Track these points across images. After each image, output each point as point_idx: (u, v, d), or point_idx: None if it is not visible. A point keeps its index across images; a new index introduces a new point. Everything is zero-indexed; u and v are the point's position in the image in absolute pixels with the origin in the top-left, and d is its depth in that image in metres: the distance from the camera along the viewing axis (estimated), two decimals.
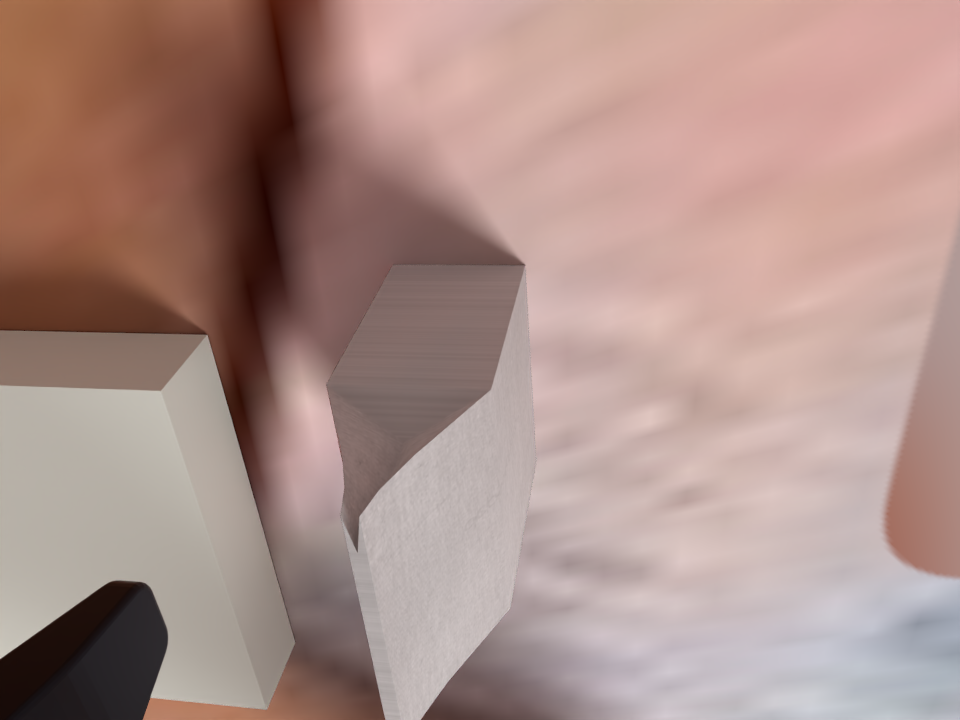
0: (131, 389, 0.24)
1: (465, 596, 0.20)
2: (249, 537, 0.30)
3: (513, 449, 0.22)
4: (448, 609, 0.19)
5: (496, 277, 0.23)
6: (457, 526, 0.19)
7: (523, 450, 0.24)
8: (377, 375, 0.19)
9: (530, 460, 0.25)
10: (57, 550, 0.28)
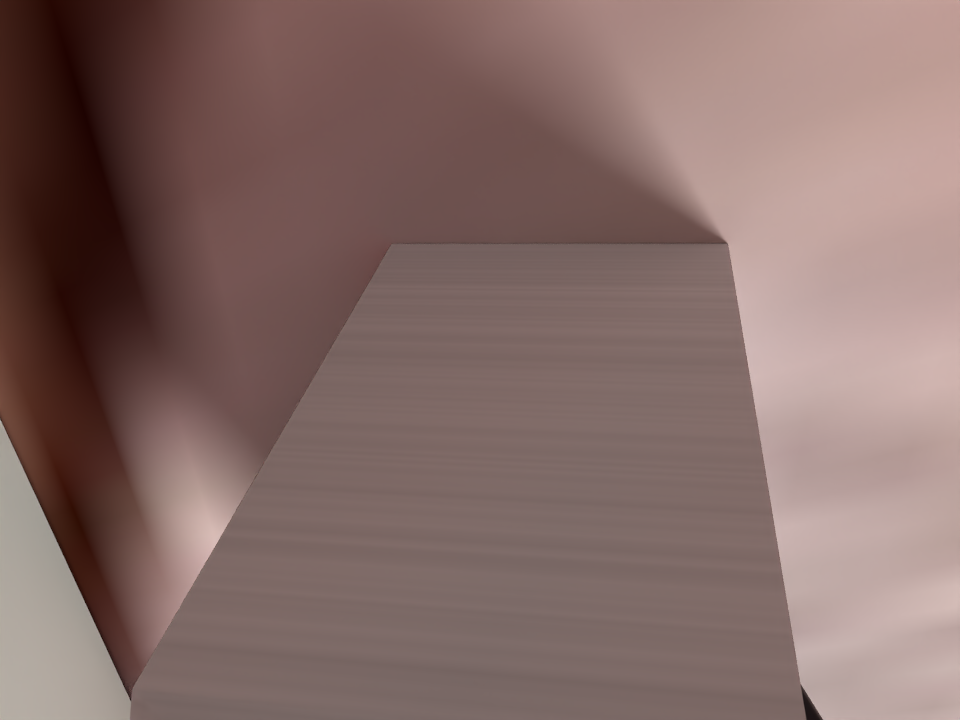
0: None
1: None
2: None
3: None
4: None
5: (663, 275, 0.09)
6: None
7: None
8: (333, 643, 0.05)
9: None
10: None
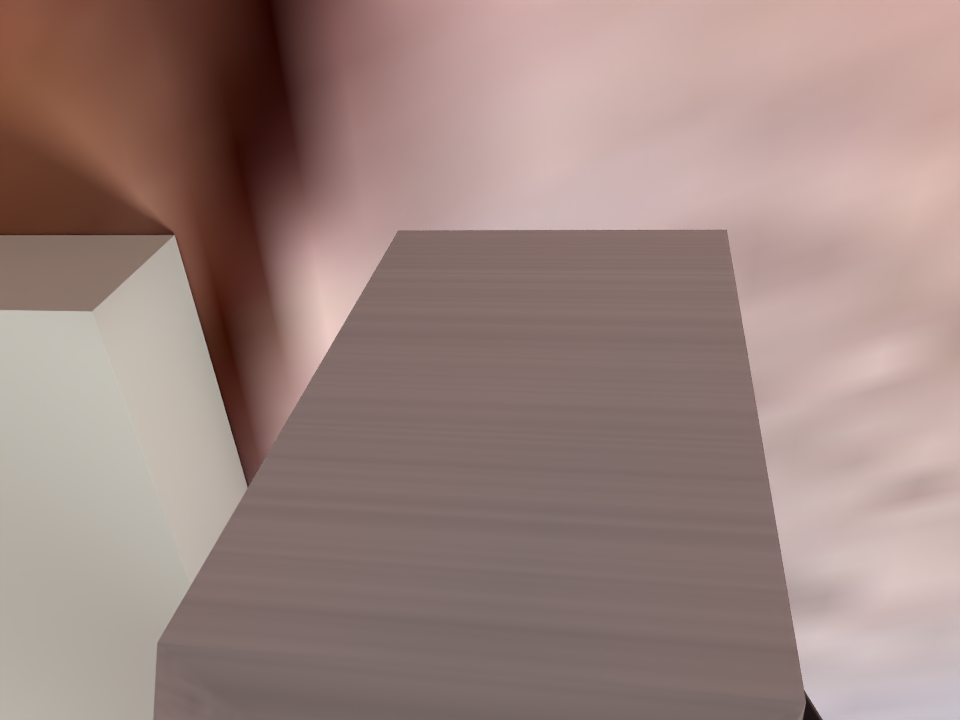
0: (45, 310, 0.15)
1: None
2: None
3: None
4: None
5: (664, 260, 0.09)
6: None
7: None
8: (348, 602, 0.05)
9: None
10: None
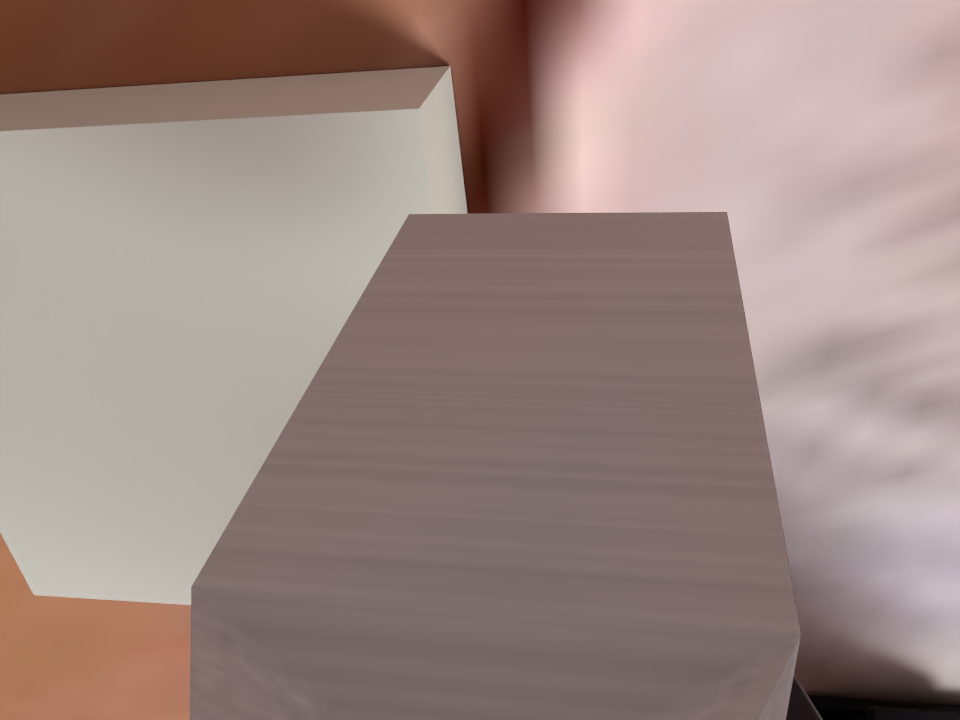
0: (373, 111, 0.16)
1: None
2: None
3: None
4: None
5: (666, 240, 0.09)
6: None
7: None
8: (371, 549, 0.06)
9: None
10: (227, 397, 0.21)
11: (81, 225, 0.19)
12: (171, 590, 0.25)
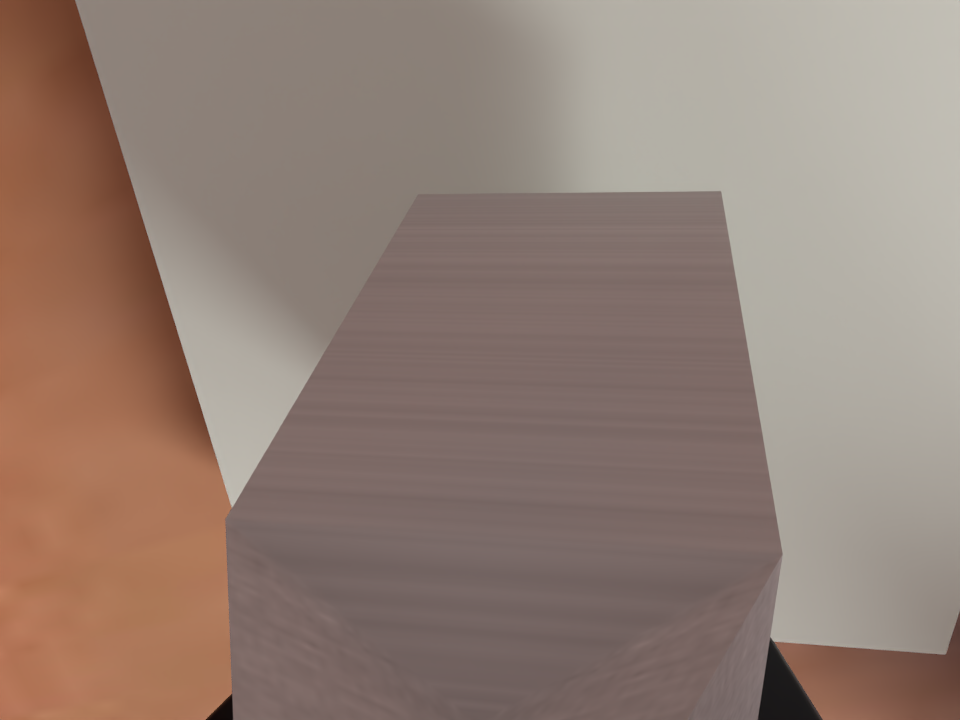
0: None
1: None
2: None
3: None
4: None
5: (663, 217, 0.10)
6: None
7: None
8: (388, 486, 0.06)
9: None
10: None
11: (507, 25, 0.12)
12: None
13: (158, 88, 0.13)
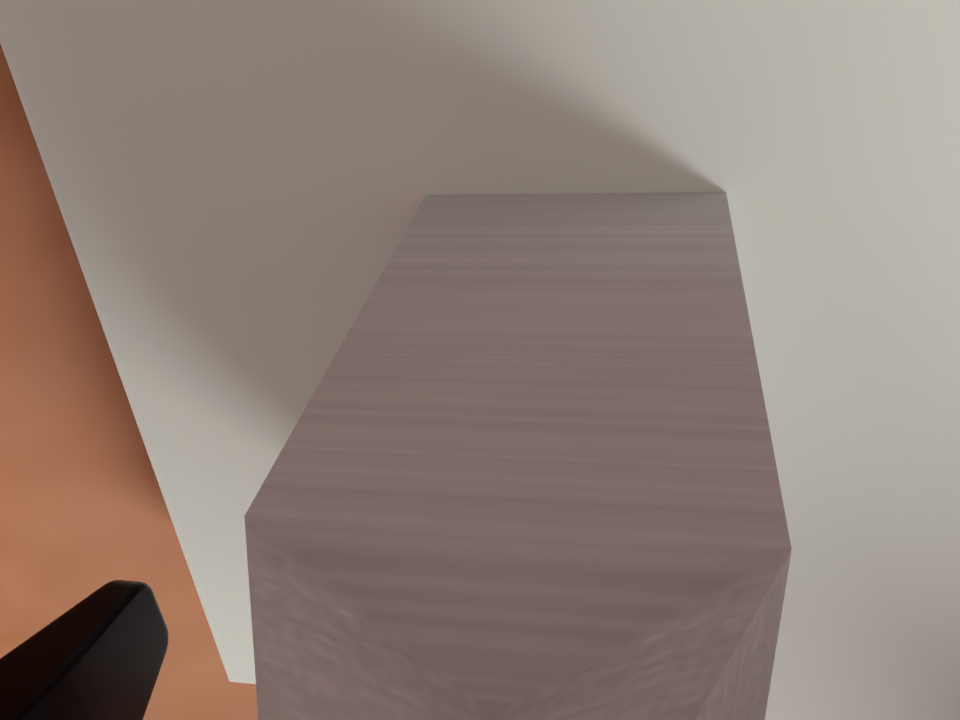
0: None
1: None
2: None
3: None
4: None
5: (669, 217, 0.10)
6: None
7: None
8: (405, 484, 0.06)
9: None
10: None
11: (492, 71, 0.10)
12: None
13: (96, 137, 0.11)
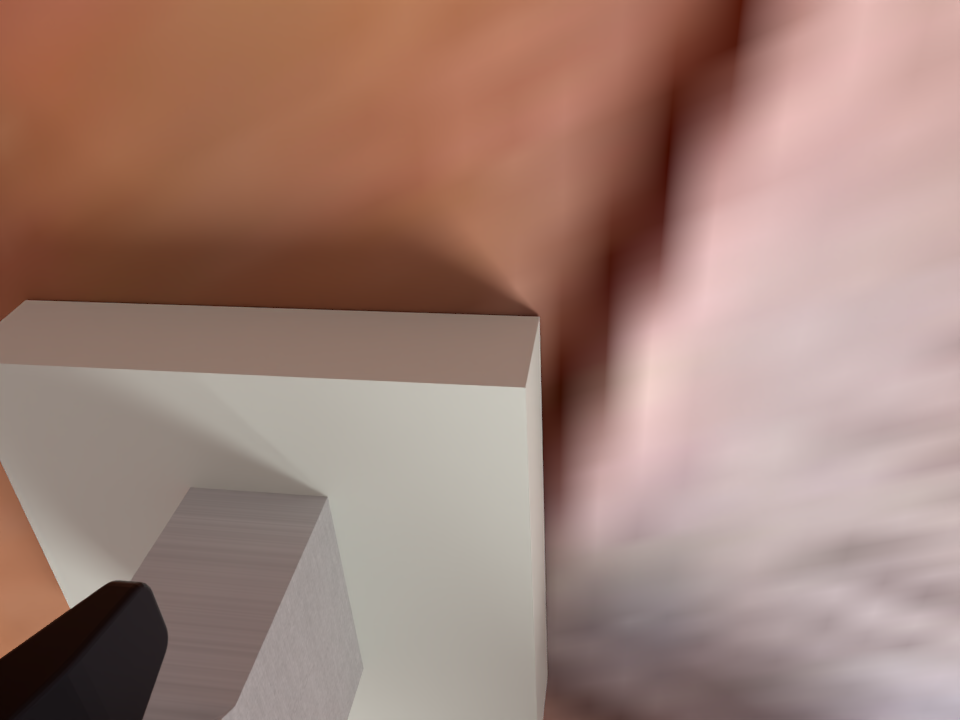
0: (485, 385, 0.19)
1: None
2: (541, 560, 0.25)
3: (300, 712, 0.20)
4: None
5: (292, 516, 0.21)
6: None
7: (328, 689, 0.22)
8: None
9: (347, 682, 0.24)
10: None
11: (212, 443, 0.21)
12: None
13: (26, 452, 0.22)
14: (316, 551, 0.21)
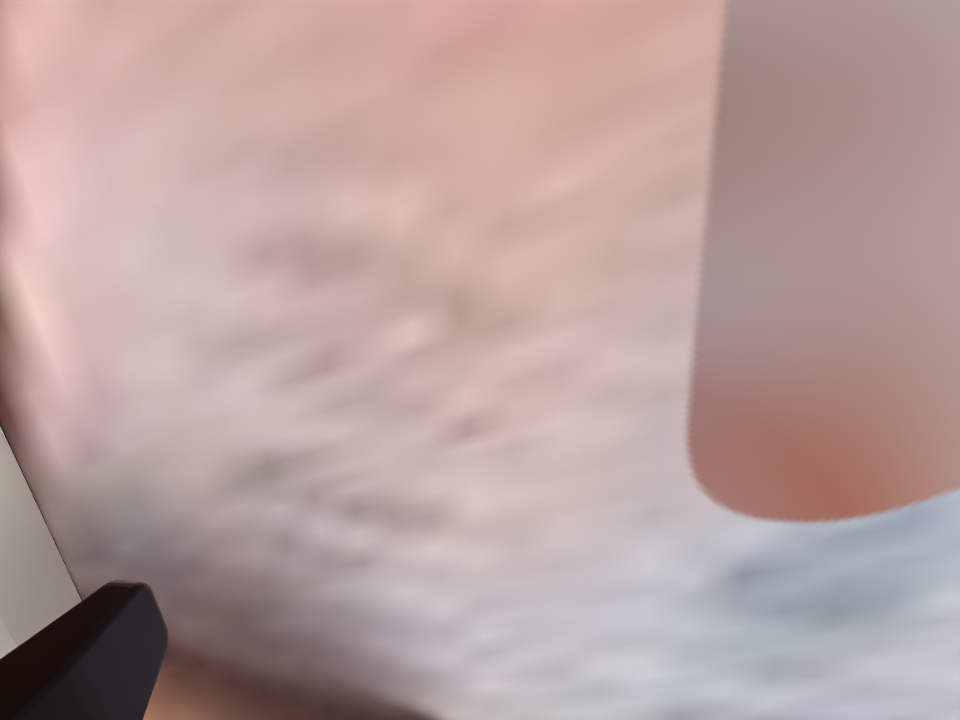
0: None
1: None
2: None
3: None
4: None
5: None
6: None
7: None
8: None
9: None
10: None
11: None
12: None
13: None
14: None
